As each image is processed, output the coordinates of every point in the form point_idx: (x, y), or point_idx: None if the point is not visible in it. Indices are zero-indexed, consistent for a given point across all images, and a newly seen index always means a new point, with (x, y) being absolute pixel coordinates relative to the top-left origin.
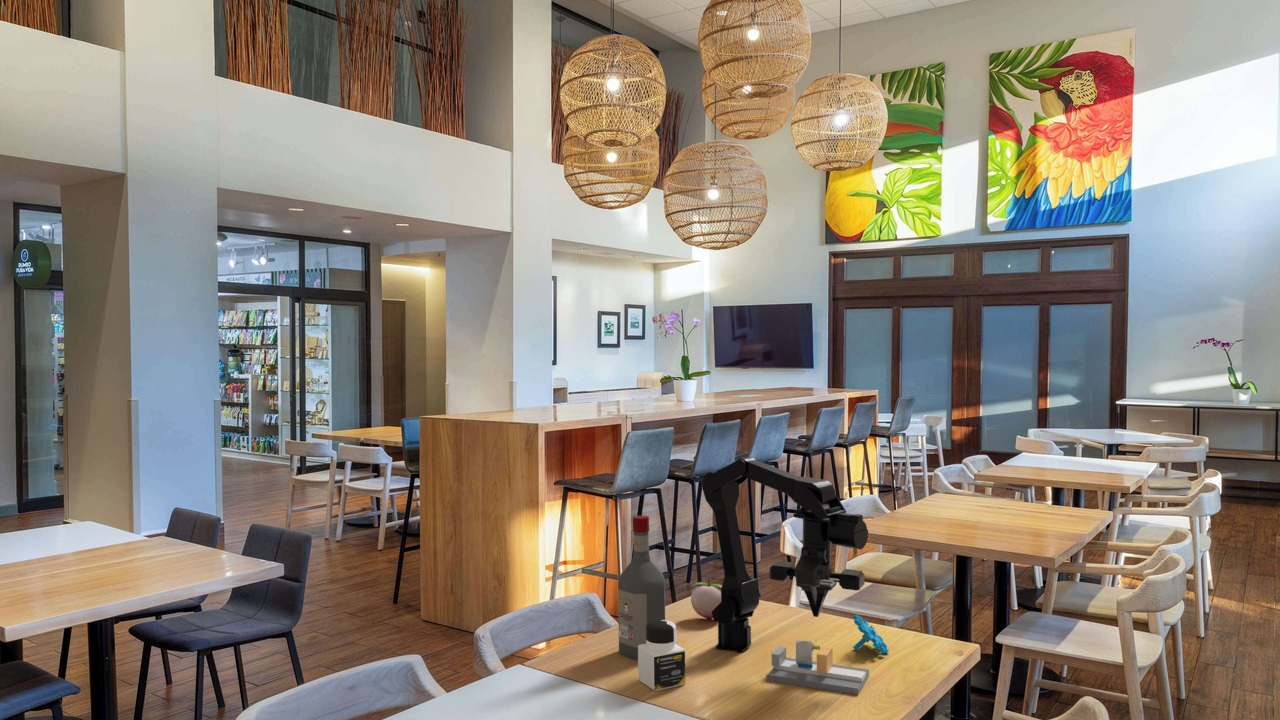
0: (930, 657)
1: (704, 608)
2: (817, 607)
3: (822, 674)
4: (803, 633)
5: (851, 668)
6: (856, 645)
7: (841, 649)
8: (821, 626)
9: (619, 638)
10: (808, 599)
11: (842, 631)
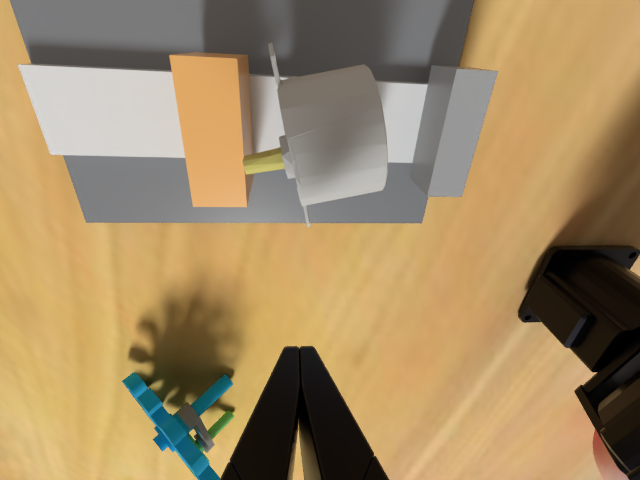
0: (18, 401)
1: None
2: (277, 408)
3: None
4: (381, 416)
5: (151, 207)
6: (220, 387)
7: (264, 367)
8: None
9: None
10: (379, 475)
11: None
